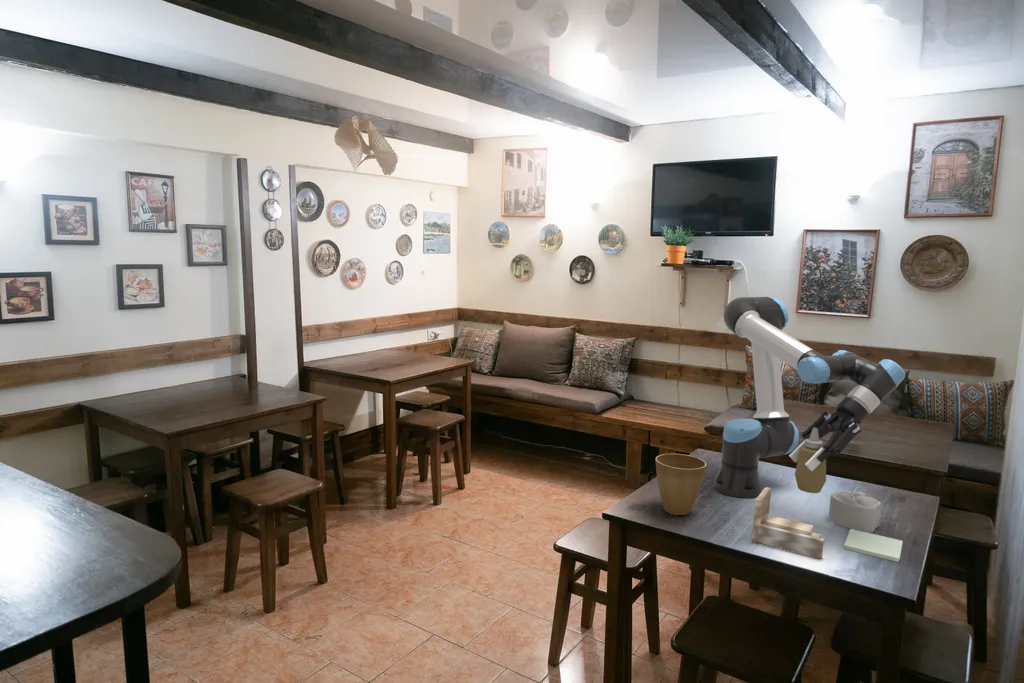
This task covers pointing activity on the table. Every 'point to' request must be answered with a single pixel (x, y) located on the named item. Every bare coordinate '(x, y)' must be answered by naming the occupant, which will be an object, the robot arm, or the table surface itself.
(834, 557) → the table surface
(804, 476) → the squeeze bottle
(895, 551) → the sage mat
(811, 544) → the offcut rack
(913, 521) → the table surface
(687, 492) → the plant pot
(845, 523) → the lumpy-topped squat cylinder
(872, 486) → the table surface
